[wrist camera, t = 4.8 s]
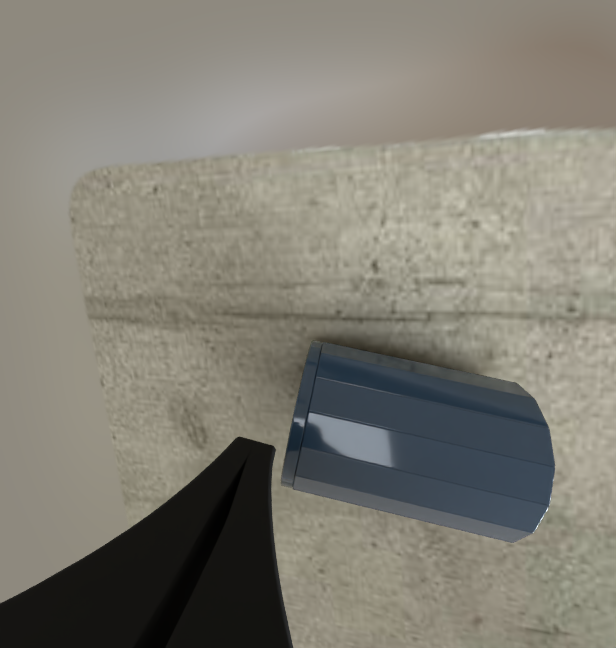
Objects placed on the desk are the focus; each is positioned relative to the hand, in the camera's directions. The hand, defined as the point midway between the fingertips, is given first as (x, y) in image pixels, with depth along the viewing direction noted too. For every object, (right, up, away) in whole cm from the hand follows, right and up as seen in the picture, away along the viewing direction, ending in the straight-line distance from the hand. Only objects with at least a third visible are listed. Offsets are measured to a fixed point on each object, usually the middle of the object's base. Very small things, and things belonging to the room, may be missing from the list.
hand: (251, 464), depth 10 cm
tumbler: (+2, +1, +3) cm, 4 cm away
